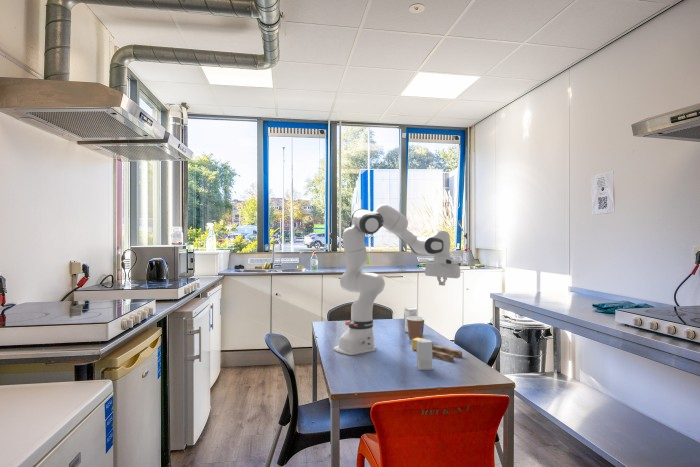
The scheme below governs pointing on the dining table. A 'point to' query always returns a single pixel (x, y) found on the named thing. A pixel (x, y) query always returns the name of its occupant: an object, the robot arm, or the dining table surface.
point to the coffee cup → (415, 327)
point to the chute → (445, 353)
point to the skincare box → (424, 354)
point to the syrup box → (408, 313)
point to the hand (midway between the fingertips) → (442, 285)
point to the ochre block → (415, 343)
